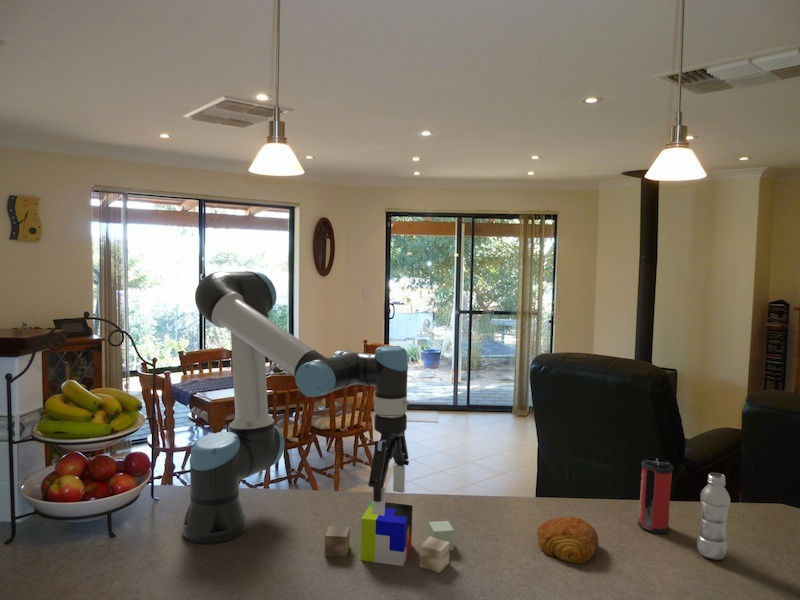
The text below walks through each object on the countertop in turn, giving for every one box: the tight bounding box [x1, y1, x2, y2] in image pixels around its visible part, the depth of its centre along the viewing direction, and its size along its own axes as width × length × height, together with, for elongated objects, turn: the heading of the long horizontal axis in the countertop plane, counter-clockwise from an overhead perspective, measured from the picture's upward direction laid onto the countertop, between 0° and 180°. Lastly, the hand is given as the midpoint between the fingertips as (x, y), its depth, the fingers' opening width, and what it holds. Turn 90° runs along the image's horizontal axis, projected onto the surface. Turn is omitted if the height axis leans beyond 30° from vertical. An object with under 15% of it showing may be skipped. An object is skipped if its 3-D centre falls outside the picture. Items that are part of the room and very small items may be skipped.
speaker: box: [637, 457, 675, 534], centre depth 154 cm, size 8×8×18 cm
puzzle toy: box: [360, 500, 413, 567], centre depth 138 cm, size 10×10×10 cm
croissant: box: [536, 516, 599, 564], centre depth 143 cm, size 14×16×8 cm
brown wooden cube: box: [324, 525, 351, 558], centre depth 138 cm, size 5×5×5 cm
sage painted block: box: [427, 520, 455, 551], centre depth 142 cm, size 5×5×5 cm
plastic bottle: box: [696, 472, 732, 561], centre depth 140 cm, size 6×7×20 cm
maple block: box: [419, 537, 450, 574], centre depth 133 cm, size 5×5×5 cm
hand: (389, 502), depth 137 cm, fingers open, 13 cm apart
